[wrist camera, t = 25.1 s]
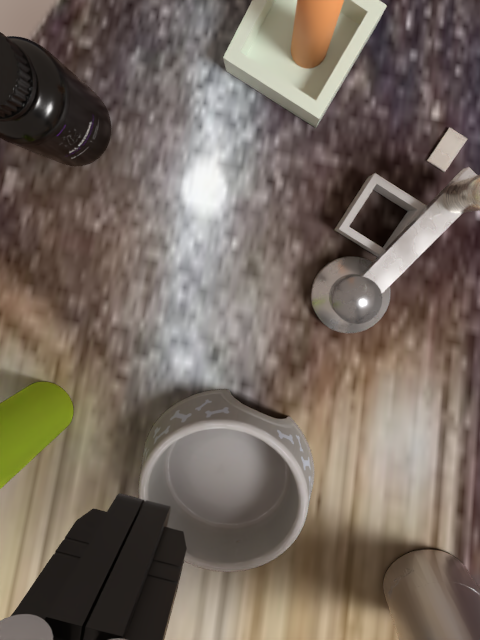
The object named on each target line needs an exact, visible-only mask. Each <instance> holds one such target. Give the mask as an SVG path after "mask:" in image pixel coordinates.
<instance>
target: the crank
mask: <svg viewBox="0 0 480 640" xmlns="http://www.w3.org/2000/svg"><path fill="white" fill-rule="evenodd" d="M478 210H480V175H476V174H475V173H474V172H473V171H472V170H471V169H470V168H469V167H468V168H465V169H462V170H461V171H460V173H459V174H458V175H457V176H456V177H455V178H454V179H453V180H452V181H451V182H450V183H449V184H448V185H447V186H446V187H445V188H444V189H443V190H442V191H441V192H440V193H439V194H438V195H437V196H436V197H435V198H434V199H433V200H432V201H431V202H430V203H429V204H428V206H427V207H426V208H425V209H424V210H423V211H422V212H421V213H420V214H419V215H418V216H417V217H416V218H415V219H414V220H413V221H412V222H411V223H410V224H409V225H408V226H407V227H406V228H405V229H404V230H403V231H402V232H401V233H400V234H399V235H398V236H397V237H396V238H395V240H394V241H393V242H392V243H391V244H390V245H389V246H388V247H387V248H386V249H385V250H384V251H383V252H382V253H381V254H380V255H379V256H378V257H377V258H376V259H375V260H374V261H373V262H372V263H371V264H370V265H369V266H368V267H367V268H366V269H365V270H364V271H363V273H362V274H361V275H357V274H348V275H345V276H342V277H340V278H339V279H337V280H336V281H335V282H334V284H333V285H332V287H331V289H330V292H329V302H330V305H331V307H332V309H333V310H334V311H335V312H336V313H337V315H338V316H339V317H340V318H341V319H343V320H344V321H346V322H348V323H352V324H361V323H365V322H368V321H370V320H371V319H373V318H374V317H375V316H376V315H377V313H378V312H379V310H380V308H381V305H382V293H383V292H384V291H385V290H386V289H387V288H388V287H389V286H390V285H391V284H392V283H393V282H394V281H395V280H396V279H397V278H398V277H399V276H400V275H401V274H402V273H403V272H404V271H405V270H406V269H407V268H408V267H409V266H410V265H411V264H412V263H413V262H414V261H415V260H416V259H417V258H418V257H419V256H420V255H421V254H422V253H423V252H424V251H425V250H426V249H427V248H428V247H429V246H430V245H431V244H432V243H433V242H434V241H435V240H436V239H437V238H438V237H439V236H440V235H441V234H442V233H443V232H444V231H445V230H446V229H447V228H448V227H449V226H450V225H451V224H452V223H453V222H454V221H455V220H456V219H457V218H458V217H459V216H460V215H461V214H462V213H463V212H471V211H478Z"/></svg>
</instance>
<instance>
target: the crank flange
mask: <svg viewBox="0 0 480 640" xmlns="http://www.w3.org/2000/svg"><path fill="white" fill-rule="evenodd" d="M466 140H467V138H465V137H464V136H462V135H460V134H459V133H457V132H456V131H454V130H453V129H451V128H448V130H447V131H446V133H445V134H444V136H443V137H442V139H441V140H440V142H439V143H438V145H437V146H436V148H435V149H434V151H433V152H432V154H431V155H430V157H429V158H428V159H427V162H429V163H431V164H432V165H434V166H435V167H437V168H438V169H440V170H441V171H443V172H445V171H446V169H447V168H448V167H449V165H450V164H451V162H452V161H453V159H454V158H455V156H456V155H457V153H458V152H459V151H460V149H461V148H462V146H463V145H464V143H465V142H466ZM371 263H372V262H371V261H370V260H367V259H364V258H360V257H354V256H347V257H341V258H338V259H335V260H333V261H331V262H329V263H328V264H326V265H325V266H324V267H323V268H322V269H321V270H320V271H319V272H318V274H317V275H316V277H315V279H314V281H313V284H312V288H311V303H312V306H313V309H314V311H315V313H316V315H317V316H318V318H319V319H320V320H321V321H322V322H323V323H324V324H325V325H326V326H328V327H329V328H331V329H333V330H335V331H338V332H342V333H356V332H360V331H364V330H366V329H368V328H370V327H372V326H373V325H374V324H376V323H377V322H378V321H379V320H380V319H381V318H382V316H383V315H384V313H385V312H386V310H387V307H388V305H389V301H390V286H389V287H388V288H387V289H386V290H385V291H384V292H383V293H382V305H381V308H380V310H379V312H378V313H377V315H376V316H375V317H374V318H373V319H371V320H370V321H368V322H365V323H361V324H352V323H348V322H346V321H344V320H343V319H341V318H340V317H339V316H338V315H337V313H336V312H335V311H334V310H333V309H332V307H331V305H330V302H329V292H330V289H331V287H332V285H333V284H334V282H335V281H336V280H337V279H339V278H340V277H342V276H345V275H348V274H357V275H361V274H362V273H363V271H364V270H365V269H366V268H367V267H368V266H369V265H370V264H371Z"/></svg>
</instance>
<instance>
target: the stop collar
mask: <svg viewBox="0 0 480 640" xmlns="http://www.w3.org/2000/svg"><path fill="white" fill-rule="evenodd" d="M372 190H375V191H376V192H378V193H379V194H381V195H383V196H384V197H386V198H387V199H389V200H390V201H392V202H394V203H395V204H397V205H398V206H400V207H401V208H403V209H405V210H406V211H407V213H406V214H405V216H404V217H403V219H402V220H401V222H400V223H399V225H398V226H397V228H396V229H395V230H394V232H393V233H392V235H391V236H390V238H389V239H388V241H387V242H386V244H385V245H384V247H383V248H382V247H381V246H379V245H377V244H376V243H374V242H373V241H371V240H369V239H368V238H366V237H365V236H363V235H361V234H360V233H358V232H357V231H355V230H353V229H352V228H350V227H349V226H350V224H351V223H352V221H353V219H354V218H355V216H356V215H357V213H358V212H359V210H360V209H361V207H362V206H363V204H364V203H365V201H366V199H367V198H368V196H369V195H370V193H371V192H372ZM426 207H427V206H426V205H424V204H423V203H421V202H420V201H418V200H417V199H415V198H413V197H412V196H410V195H409V194H407V193H406V192H404V191H402V190H401V189H399V188H398V187H396V186H395V185H393V184H391V183H390V182H388V181H387V180H385V179H384V178H382V177H380V176H379V175H377V174H376V173H374V174H373V175H371V176H369V177H368V178H367V180H366V181H365V183H364V184H363V186H362V187H361V189H360V190H359V192H358V194H357V195H356V197H355V198H354V200H353V201H352V203H351V204H350V206H349V208H348V209H347V211H346V212H345V214H344V215H343V217H342V218H341V220H340V222H339V223H338V225H337V226H336V228H335V229H334V230H335V231H337V232H339V233H340V234H342V235H343V236H345V237H347V238H348V239H350V240H351V241H353V242H355V243H356V244H358V245H359V246H361V247H363V248H364V249H366V250H367V251H369V252H371V253H372V254H374V255H375V256H377V257H378V256H379V255H380V254H381V253H382V252H383V251H384V250H385V249H386V248H387V247H388V246H389V245H390V244H391V243H392V242H393V241H394V240H395V238H396V237H397V236H398V235H399V234H400V233H401V232H402V231H403V230H404V229H405V228H406V227H407V226H408V225H409V224H410V223H411V222H412V221H413V220H414V219H415V218H416V217H417V216H418V215H419V214H420V213H421V212H422V211H423V210H424V209H425V208H426Z"/></svg>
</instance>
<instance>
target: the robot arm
mask: <svg viewBox="0 0 480 640" xmlns="http://www.w3.org/2000/svg"><path fill="white" fill-rule="evenodd" d="M170 510H171V506H167V505H163V504H160V503H156V502H152V501H148V500H146V501H144V500H143V499H139V498H135V497H131V496H127V495H124V494H118V495H117V496H116V498H115V500H114V501H113V503H112V505H111V507H110V508H109V510H108V512H105V511H101V510H97V509H92V510H91V511H89V512H88V513H86V514H85V515H84V516H82V517H81V518H79V519H78V520H77V521H76V522H75V524H74V525H73V527H72V528H71V529H70V531H69V532H68V534H67V535H66V537H65V539H64V540H63V541H62V543H61V544H60V546H59V547H58V549H57V550H56V552H55V554H53V556H52V557H51V559H50V560H49V562H48V563H47V565H46V566H45V568H44V569H43V570H42V572H41V573H40V575H39V576H38V578H37V579H36V581H35V582H34V584H33V585H32V587H31V588H30V590H29V591H28V592H27V594H26V595H25V597H24V598H23V600H22V601H21V603H20V604H19V606H18V607H17V609H16V610H15V611H14V613H13V614H12V615H11V616H10V617H8V618H5V619H3V620H1V621H0V640H164V638H165V635H166V631H167V627H168V623H169V619H170V615H171V612H172V608H173V604H174V600H175V596H176V592H177V588H178V584H179V580H180V575H181V571H182V567H183V563H184V558H185V554H186V550H187V547H186V542H185V537H184V532H183V531H180V530H176V529H172V528H168V527H167V524H168V520H169V515H170ZM383 589H384V594H385V598H386V601H387V604H388V607H389V610H390V613H391V616H392V619H393V622H394V625H395V629H396V632H397V635H398V638H399V640H480V587H479V586H478V585H476V584H475V582H474V580H473V579H472V577H471V575H470V574H469V572H468V570H467V569H466V567H465V566H464V564H463V563H462V562H460V561H459V560H458V559H457V558H456V557H454V556H452V555H451V554H448V553H445V552H443V551H438V550H418V551H413V552H410V553H408V554H405V555H403V556H402V557H400V558H398V559H397V560H396V561H395V562H394V563H393V564H392V565H391V566H390V567H389V569H388V570H387V572H386V574H385V577H384V582H383Z"/></svg>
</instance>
